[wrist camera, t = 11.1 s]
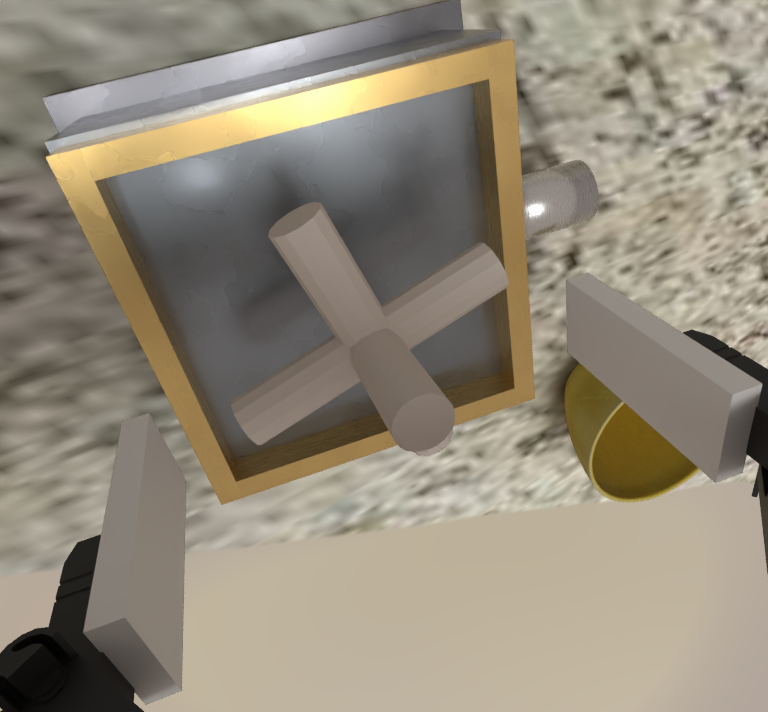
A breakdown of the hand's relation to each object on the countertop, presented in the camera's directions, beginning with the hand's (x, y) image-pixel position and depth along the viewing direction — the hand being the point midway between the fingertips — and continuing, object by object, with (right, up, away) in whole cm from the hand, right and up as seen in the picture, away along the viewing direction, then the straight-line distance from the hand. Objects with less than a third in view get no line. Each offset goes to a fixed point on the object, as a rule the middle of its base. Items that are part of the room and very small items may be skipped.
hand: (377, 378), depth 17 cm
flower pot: (+15, -1, +23) cm, 28 cm away
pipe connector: (-2, +3, +6) cm, 7 cm away
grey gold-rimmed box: (-2, +8, +13) cm, 15 cm away
